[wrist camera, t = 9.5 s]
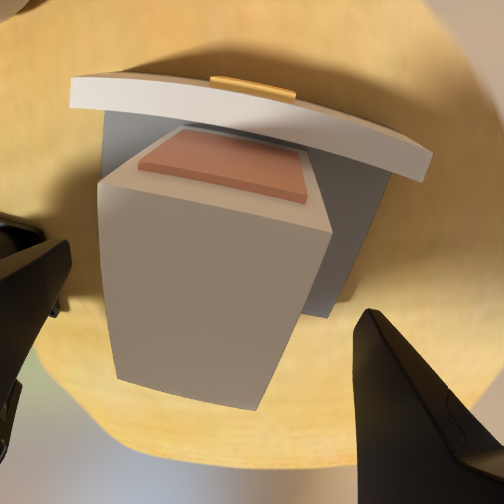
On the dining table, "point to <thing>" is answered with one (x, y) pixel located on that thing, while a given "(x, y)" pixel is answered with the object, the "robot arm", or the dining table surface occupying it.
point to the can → (10, 8)
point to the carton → (208, 262)
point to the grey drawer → (267, 129)
